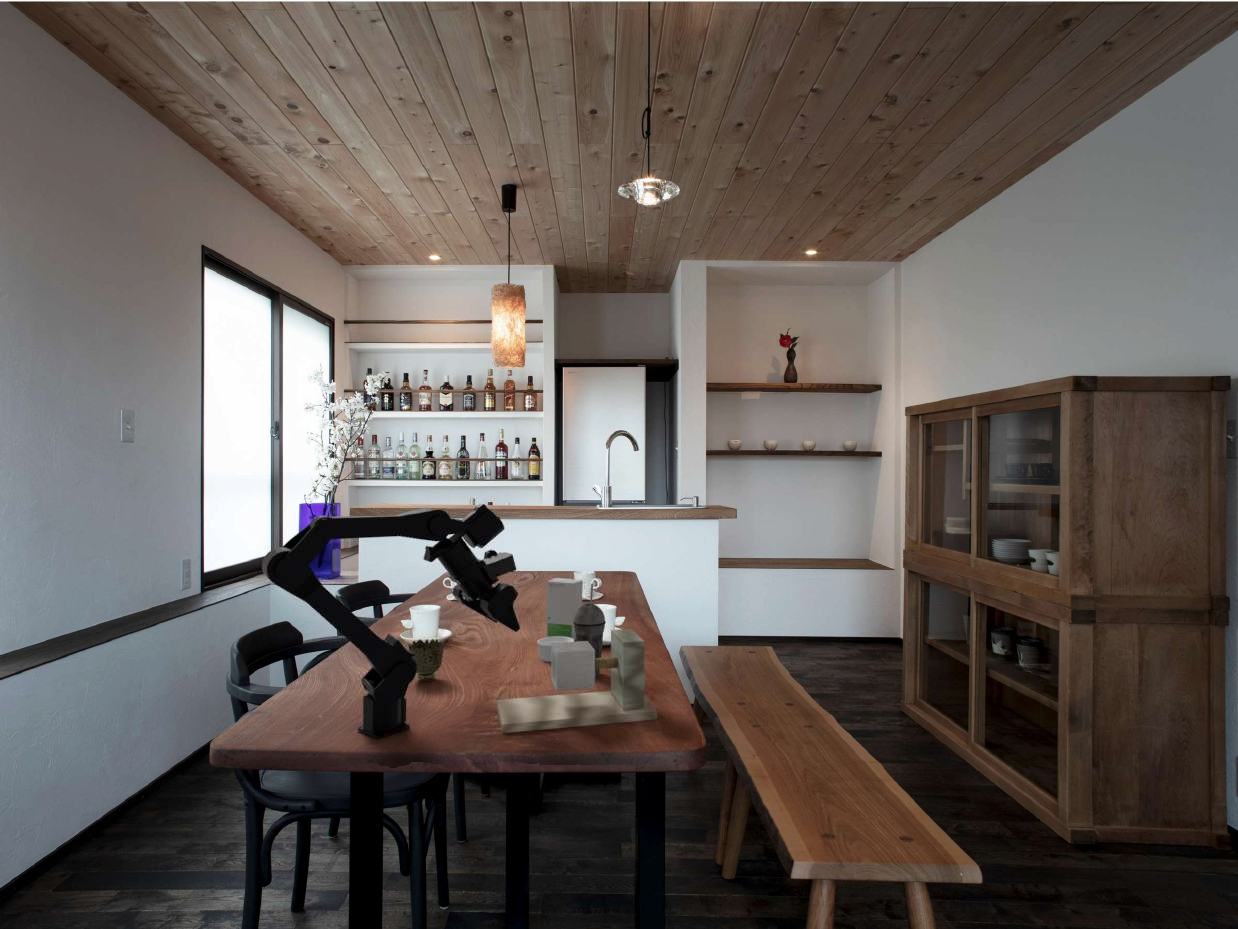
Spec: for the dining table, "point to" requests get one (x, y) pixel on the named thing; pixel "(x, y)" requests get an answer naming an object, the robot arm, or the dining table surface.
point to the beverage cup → (590, 626)
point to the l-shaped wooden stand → (589, 695)
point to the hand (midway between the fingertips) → (507, 625)
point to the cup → (427, 658)
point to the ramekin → (549, 646)
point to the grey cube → (573, 665)
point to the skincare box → (562, 606)
